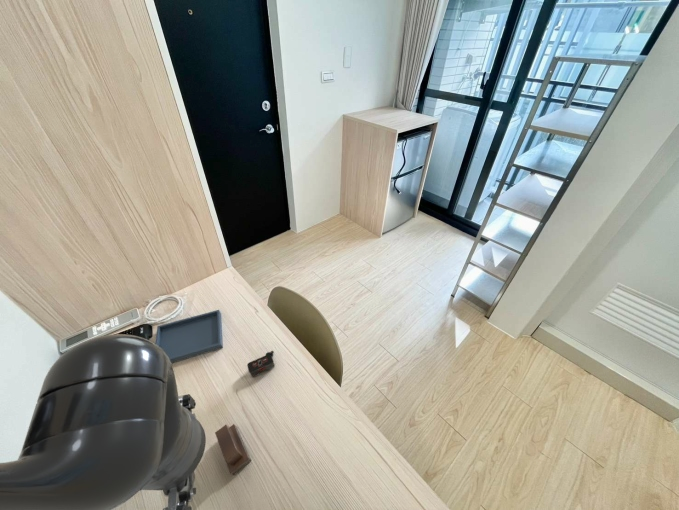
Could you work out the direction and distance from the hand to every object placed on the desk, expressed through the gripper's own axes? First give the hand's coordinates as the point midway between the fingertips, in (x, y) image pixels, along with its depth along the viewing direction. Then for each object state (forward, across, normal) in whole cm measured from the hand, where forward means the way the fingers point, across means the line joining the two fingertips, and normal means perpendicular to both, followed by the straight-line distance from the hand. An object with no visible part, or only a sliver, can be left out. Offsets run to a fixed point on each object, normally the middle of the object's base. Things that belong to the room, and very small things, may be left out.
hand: (189, 459), depth 42 cm
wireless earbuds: (+21, -19, +14) cm, 31 cm away
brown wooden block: (+20, -2, +6) cm, 20 cm away
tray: (+26, -33, -5) cm, 42 cm away
